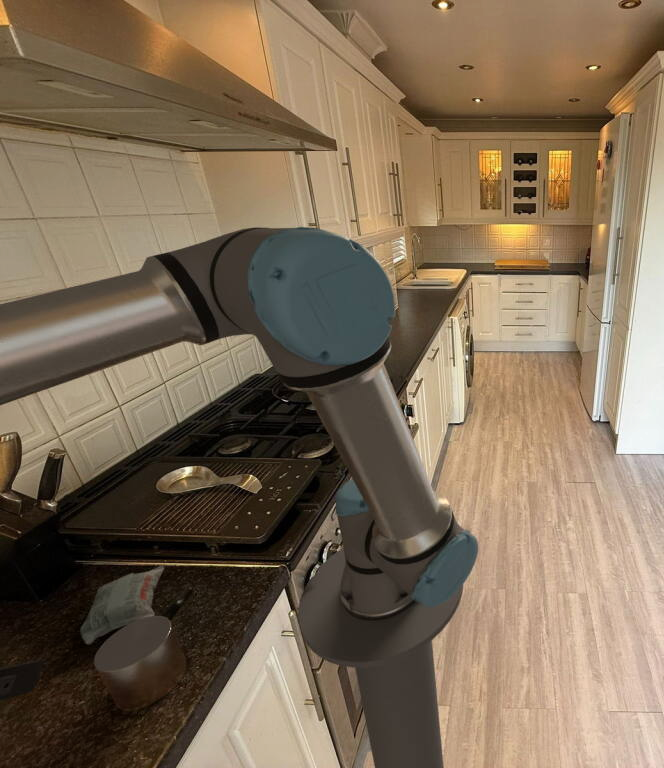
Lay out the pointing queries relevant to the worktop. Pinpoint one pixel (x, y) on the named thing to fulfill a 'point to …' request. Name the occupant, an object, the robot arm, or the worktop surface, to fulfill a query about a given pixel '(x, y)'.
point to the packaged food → (121, 604)
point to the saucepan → (143, 659)
